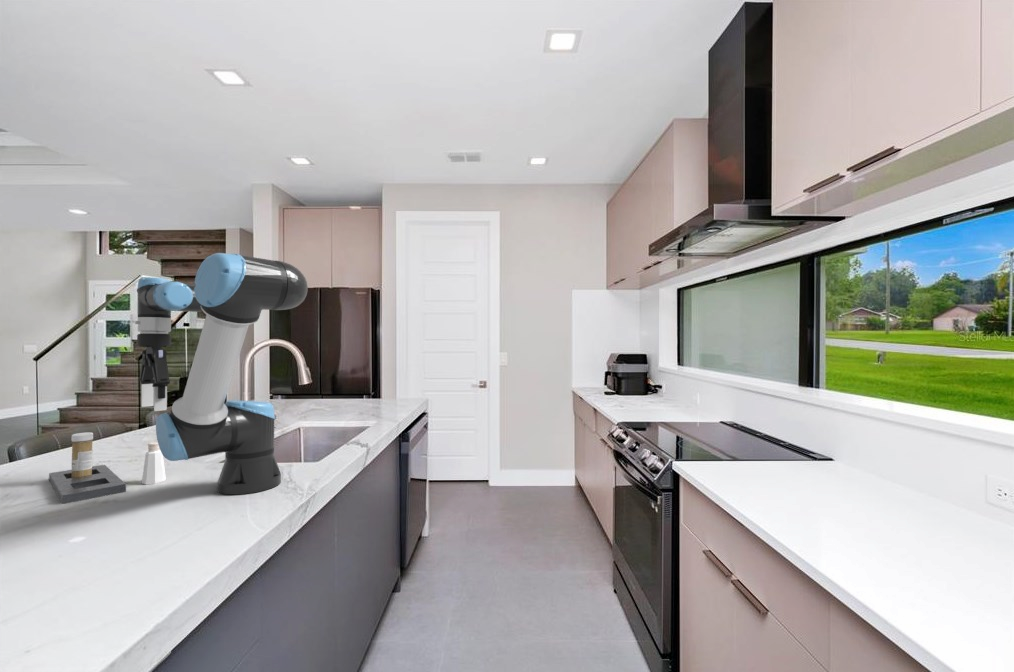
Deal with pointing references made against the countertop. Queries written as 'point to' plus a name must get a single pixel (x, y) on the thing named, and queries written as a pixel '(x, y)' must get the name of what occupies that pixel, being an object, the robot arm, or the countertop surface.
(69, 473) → the bolt plate
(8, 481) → the countertop surface
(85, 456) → the sprinkles bottle
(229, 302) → the robot arm
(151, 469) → the pepper shaker
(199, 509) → the countertop surface
